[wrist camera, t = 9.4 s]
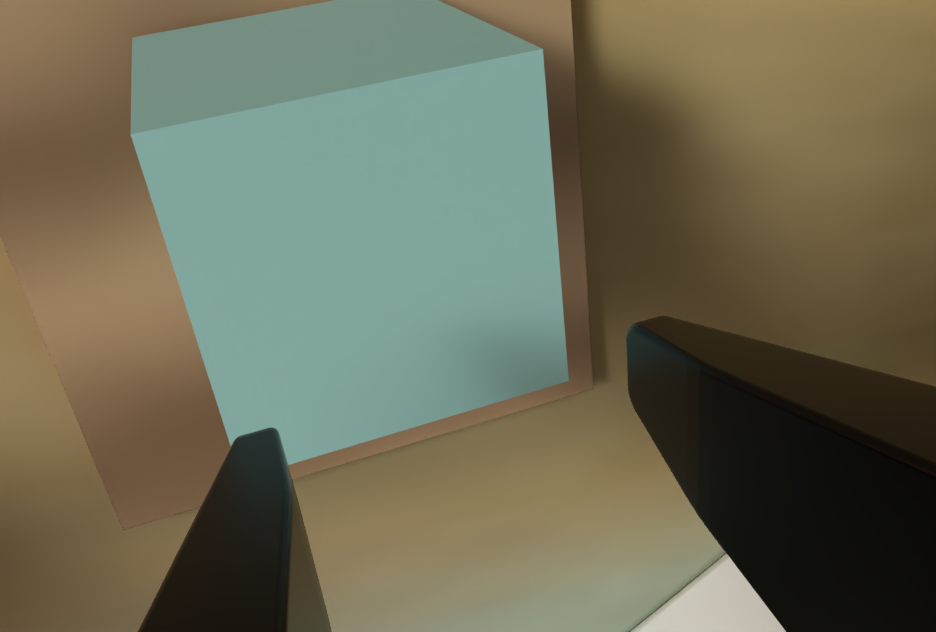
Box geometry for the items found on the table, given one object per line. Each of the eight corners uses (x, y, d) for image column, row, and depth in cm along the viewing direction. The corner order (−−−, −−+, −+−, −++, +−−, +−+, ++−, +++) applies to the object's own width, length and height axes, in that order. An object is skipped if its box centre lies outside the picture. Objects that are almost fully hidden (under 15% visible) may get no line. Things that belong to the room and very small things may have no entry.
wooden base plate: (580, 374, 24) (726, 543, 18) (123, 509, 21) (119, 760, 15) (531, -361, 16) (764, -490, 10) (-206, -295, 13) (-477, -416, 7)
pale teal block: (445, 231, 20) (568, 380, 14) (209, 291, 18) (240, 479, 13) (409, -14, 17) (543, 48, 11) (131, 37, 16) (130, 134, 10)
